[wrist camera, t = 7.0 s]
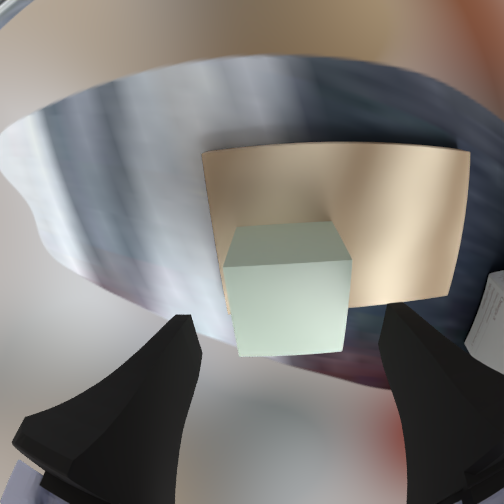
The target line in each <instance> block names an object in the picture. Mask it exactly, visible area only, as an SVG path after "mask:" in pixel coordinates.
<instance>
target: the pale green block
mask: <svg viewBox="0 0 504 504" xmlns="http://www.w3.org/2000/svg"><path fill="white" fill-rule="evenodd" d="M223 273H224V279H225V284H226V290H227V295H228V301H229V306H230V312H231V317H232V322H233V328H234V333H235V338H236V343H237V348H238V353H239V356H240V357H250V356H286V355H304V354H317V353H329V352H340V351H342V349H343V342H344V335H345V328H346V321H347V313H348V304H349V295H350V284H351V273H352V258H351V256H350V254H349V252H348V250H347V248H346V246H345V244H344V242H343V241H342V239H341V237H340V235H339V233H338V231H337V229H336V228H335V226H334V224H333V222H332V221H323V222H305V223H288V224H272V225H257V226H243V227H236V230H235V233H234V236H233V239H232V242H231V244H230V247H229V250H228V253H227V256H226V259H225V262H224V265H223Z"/></svg>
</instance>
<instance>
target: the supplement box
mask: <svg viewBox="0 0 504 504" xmlns="http://www.w3.org/2000/svg"><path fill="white" fill-rule="evenodd" d="M465 345H466V347H467V349H468V351H469V352H470V354H471V356H472V357H474V358H475V359H477V360H479V361H480V362H482V363H483V364H485V365H487V366H489V367H490V368H492V369H494V370H496V371H498V372H500V373H502V374H504V270H502V271H497V272H493V273H490V274H489V275H488V280H487V284H486V288H485V291H484V295H483V298H482V301H481V304H480V307H479V310H478V312H477V315H476V318H475V320H474V322H473V325H472V328H471V330H470V332H469V334H468V336H467V338H466V341H465Z"/></svg>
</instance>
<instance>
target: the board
mask: <svg viewBox="0 0 504 504" xmlns="http://www.w3.org/2000/svg"><path fill="white" fill-rule="evenodd" d="M202 161H203V168H204V175H205V182H206V189H207V195H208V202H209V208H210V215H211V221H212V227H213V233H214V239H215V245H216V251H217V256H218V262H219V268H220V273H221V279H222V284H223V290H224V295H225V300H226V306H227V311H228V314H231V312H230V306H229V301H228V295H227V290H226V284H225V279H224V273H223V265H224V262H225V259H226V256H227V253H228V250H229V247H230V244H231V242H232V239H233V236H234V233H235V230H236V227H243V226H257V225H272V224H288V223H305V222H323V221H332V222H333V224H334V226H335V228H336V229H337V231H338V233H339V235H340V237H341V239H342V241H343V242H344V244H345V246H346V248H347V250H348V252H349V254H350V256H351V258H352V273H351V284H350V295H349V304H348V308H352V307H362V306H372V305H381V304H387V303H395V302H405V301H413V300H420V299H427V298H434V297H440V296H446V295H448V292H449V288H450V285H451V281H452V277H453V273H454V269H455V265H456V261H457V256H458V252H459V247H460V242H461V236H462V231H463V225H464V218H465V211H466V203H467V194H468V184H469V169H470V152H467V151H464V150H460V149H454V148H446V147H437V146H427V145H416V144H402V143H383V142H306V143H286V144H271V145H259V146H248V147H238V148H229V149H221V150H213V151H207V152H205V153H202Z"/></svg>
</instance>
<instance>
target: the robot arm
mask: <svg viewBox="0 0 504 504" xmlns="http://www.w3.org/2000/svg"><path fill="white" fill-rule="evenodd" d="M378 345H379V349H380V354H381V359H382V363H383V367H384V370H385V373H386V376H387V379H388V381H389V384H390V387H391V390H392V393H393V396H394V399H395V402H396V405H397V408H398V411H399V415H400V419H401V423H402V429H403V435H404V441H405V450H406V460H407V482H408V483H407V504H504V374H502V373H500V372H498V371H496V370H494V369H492V368H490V367H489V366H487V365H485V364H483V363H482V362H480V361H479V360H477V359H475V358H474V357H472V356H471V355H469V354H468V353H466V352H465V351H463V350H462V349H461V348H459V347H458V346H457V345H455V344H454V343H452V342H451V341H450V340H449V339H447V338H446V337H445V336H443V335H442V334H441V333H440V332H438V331H437V330H436V329H435V328H434V327H432V326H431V325H430V324H429V323H428V322H426V321H425V320H424V319H423V318H422V317H420V316H419V315H418V314H417V313H416V312H414V311H413V310H412V309H411V308H410V307H408V306H407V305H406V304H404V303H403V302H395V303H387V308H386V313H385V317H384V322H383V326H382V330H381V335H380V339H379V343H378ZM201 359H202V350H201V347H200V344H199V341H198V337H197V334H196V331H195V327H194V324H193V320H192V317H191V315H175V316H174V317H173V318H171V319H170V320H169V321H168V322H167V323H166V324H165V325H164V326H163V327H162V328H161V329H160V330H159V331H158V332H157V333H156V334H155V335H154V336H153V337H152V338H151V339H150V340H149V341H148V342H147V343H146V344H145V345H144V346H143V347H142V348H141V349H140V350H139V351H138V352H136V353H135V354H134V355H133V356H132V357H131V358H129V359H128V360H127V361H126V362H125V363H124V364H123V365H121V366H120V367H119V368H118V369H116V370H115V371H114V372H113V373H111V374H110V375H109V376H107V377H106V378H104V379H103V380H102V381H100V382H99V383H97V384H96V385H94V386H92V387H91V388H89V389H88V390H86V391H84V392H83V393H81V394H79V395H78V396H76V397H74V398H72V399H70V400H68V401H66V402H64V403H62V404H60V405H57V406H55V407H53V408H50V409H48V410H45V411H42V412H39V413H36V414H33V415H31V416H27V417H25V418H24V420H23V422H22V424H21V426H20V427H19V429H18V431H17V433H16V435H15V437H14V439H13V441H12V444H13V446H14V447H15V448H17V449H18V450H19V451H20V452H21V453H22V454H24V455H25V456H26V457H27V458H29V459H30V460H31V461H33V462H34V463H35V464H37V465H38V466H39V467H41V468H42V469H43V470H45V473H44V475H41V474H40V473H39V472H37V471H36V470H34V469H32V468H31V467H30V466H28V465H27V464H25V463H24V462H22V461H21V460H18V461H17V463H16V465H15V467H14V470H13V472H12V474H11V476H10V479H9V481H8V483H7V486H6V488H5V491H4V493H3V496H2V498H1V501H0V502H1V504H175V487H176V474H177V465H178V458H179V449H180V444H181V438H182V432H183V428H184V424H185V420H186V417H187V414H188V410H189V407H190V404H191V400H192V397H193V394H194V391H195V387H196V384H197V381H198V377H199V371H200V366H201Z"/></svg>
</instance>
